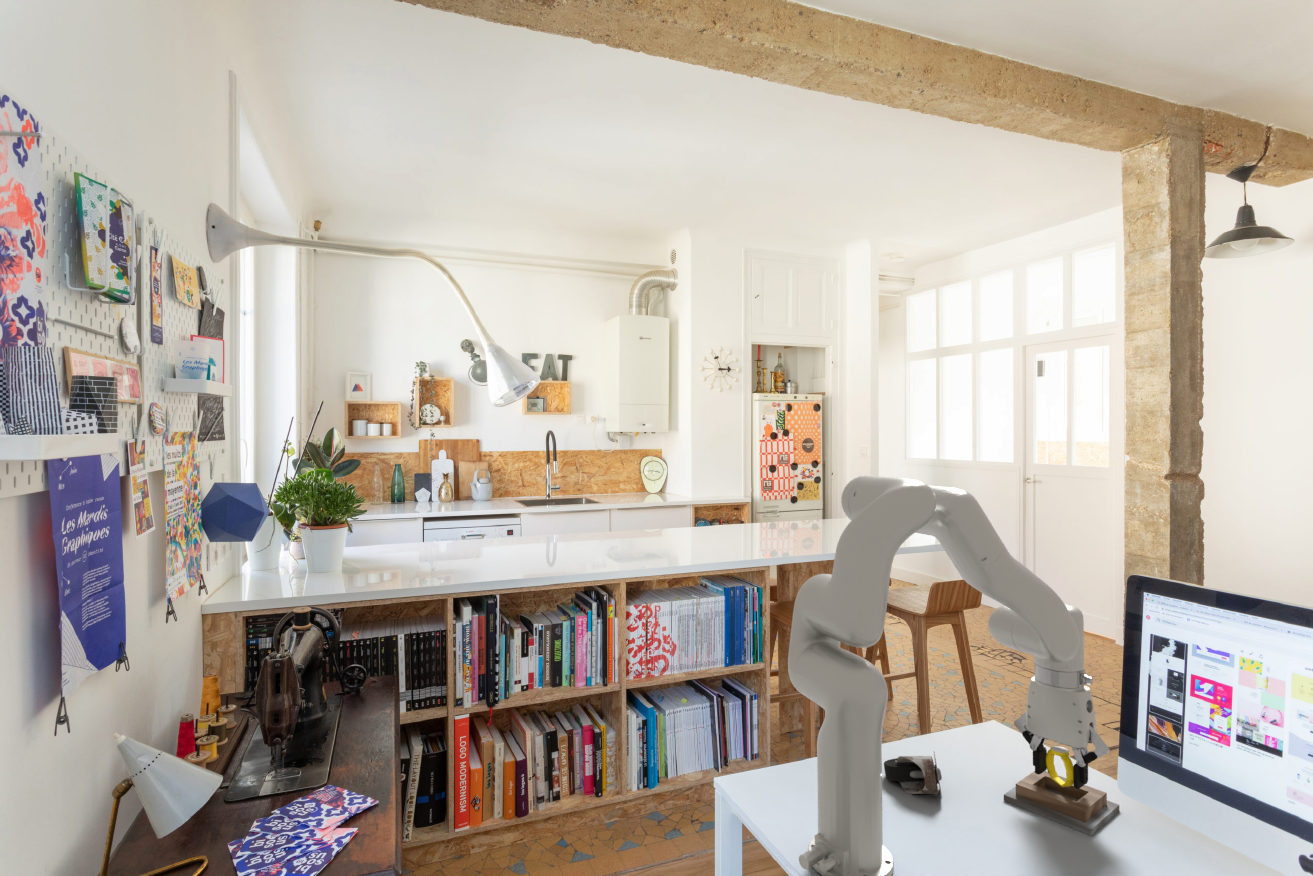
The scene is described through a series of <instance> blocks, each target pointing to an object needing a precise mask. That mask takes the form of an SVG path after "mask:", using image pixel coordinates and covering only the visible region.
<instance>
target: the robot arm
mask: <svg viewBox="0 0 1313 876" xmlns="http://www.w3.org/2000/svg"><path fill="white" fill-rule="evenodd" d="M840 501H841V507H842V511H843V512H844V514H845V516H846V517H847V518H848V519H849V520H850V521H849V522H848V524H847V525H846V527H845V528H844V530H842V532H841V534H840V536H839V538H838V539H839V540H838V541H837V545H836V547H835V548H836V549H835V553H834V554H835V555H834V559H833V565H832V572H831V574H830V573H820V574H815V575H813V576H811V577H809V578H808V579H807V580H806V581H805V582H804V583H802V585H801V586H800V588H799V589H798V593H797V594H796V597H795V600H794V604H793V610H792V619H791V626H790V627H791V629H790V637H789V647H788V656H787V671H788V676H789V679H790V682H791V684H792V685H793V687H794V688H795V689H796V690H797V691H798V692H799V693H800V694H802V695H803V696H804V697H805V698H807V699H809V700H810V701H812V702H814V703H815V704H816V705H817V706H819V707H820V708H822V709H823V710H824V718H823V722H822V724H821V726H820V729H819V732H818V734H817V739H816V741H817V742H816V759H817V760H816V761H817V763H816V764H817V766H816V767H817V770H816V771H817V775H816V776H817V779H816V780H817V833H816V834H814V838H813V839H812V840H811V841H810V842H809V844H808V847H807V851H805V852H804V853H802V854H800V855H799V856H798V862H799V865H800V867H801V868H802V869H803V870H806V871H807V870H809V869H810V868H813V869H814V870H815V872H817V873H819V874H820V875H821V876H893V873H894V872H895V871H894V870H895V869H894V868H895V867H894V865H895V864H894V863H895V862H894V857H893V855H892V853H891V852H890V851H889V849H888V848H887V847H886V846H885V845H884V843H883V842H884V841H883V836H884V835H883V768H882V767H883V766H882V765H883V763H882V762H883V761H882V750H883V749H882V747H883V746H882V743H883V742H882V741H883V729H884V721H885V715H886V710H887V705H888V700H889V691H888V690H889V689H888V685H887V681H886V679H885V677H884V675H883V674H882V672H881V671H880V670H879V669H878V668H877V667H876V665H874V664H873V663H871V662H870V661H869V660H867V659H865V658H864V657H862V656H860V655H857V654H855V653H853V652H851V651H849V650H847V649H844V648H843V647H841V643H843V644H845V645H847V646H850V647H855V648H861V649H862V648H863V649H866V648H871V647H872V646H874V645H876V644H877V643H878V642H879V641H880V640H881V638H882V635H883V633H884V630H885V624H886V617H887V616H886V615H887V608H888V607H887V606H888V598H889V589H890V580H891V572H892V567H893V561H894V560H895V559H894V558H895V556H896V554H897V552H898V550H899V549H900V547H901V546H902V545H903V544H904V543H905V542H906V541H907V540H908V539H909V538H910V537H911V536H913V535H914V534H922V535H927V536H930V537H931V536H932V537H934V538H935V539H936V540H937V542H939V544H940V546H941V547H942V548H943V550H944V551H945V553H946V555H947V556H948V557H949V560H950V561H951V562H952V564H953V566H954V568H955V569H956V570H957V572H958V574H959V575H960V577H961V578H962V580H964V582H965V583H967V584H968V585H969V586H971V587H972V588H973V589H975V590H976V591H978V592H980V593H981V594H982V595H984V596H987V597H988V598H989V599H992V600H995V601H996V602H998V603H1000V604H1001V605H1000V606H998V607H997V608H996V609H994V610H993V611H992V613H991V614H990V615H989V618H988V620H987V627H988V631H989V634H990V635H991V637H992V638H993V639H994V641H996V642H997V643H999V644H1000V645H1002V646H1003V647H1007V648H1009V649H1012V650H1014V651H1018V652H1021V653H1025V654H1028V655H1031V656H1033V658H1034V659H1033V660H1034V661H1033V662H1034V663H1033V664H1034V666H1033V667H1034V675H1033V676H1032V677H1030V681H1029V686H1028V690H1027V696H1026V706H1025V713H1023V714H1022V715H1021V716H1018V718H1017V719H1016V720H1014V721H1013V725H1014V726H1015V728H1016V729H1017V730H1018V731H1019V732H1020V733H1021V734H1022V737H1023V738H1024V739H1025V741H1026V742H1027V743H1028V745H1029V748H1030V750H1032V766H1034V771H1035V773H1036V774H1038V775H1039V774H1041V773H1043V772H1044V771H1047V767H1046V754H1047V752H1048V750H1047V748H1046V746H1045V745H1044V744H1045V741H1046V740H1049V741H1051V742H1054V743H1058V744H1060V745H1064V746H1066V747H1069V748H1071V750H1072V752H1073V756H1074V758H1075V764H1073V769H1074V787H1075V788H1077V789H1080V788H1081V787H1082V786H1084V785H1086V784H1088V782H1089V764H1090V763H1092V762H1094V761H1096V760H1097V759H1100V758H1102V757H1104V756H1106V755H1107V754H1109V753H1110V752H1111V750H1110V748H1109V746H1108V745H1107V744H1106V743H1105V741H1104V740H1103V739H1102V738H1101V736H1100V735H1099V734H1098V732H1097V722H1096V714H1095V707H1094V702H1093V701H1094V700H1093V696H1092V692H1091V688H1090V687H1089V686H1087V685H1090V686H1092V685H1093V684H1094V678H1093V676H1089V675H1088V674H1087V673H1086V669H1085V634H1084V631H1085V630H1084V629H1085V627H1084V626H1085V625H1084V620H1085V619H1084V614H1083V612H1082V610H1080V608H1078V607H1077V606H1075V605H1071V604H1067V603H1064V600H1062V598H1061V597H1060V596H1059V594H1058V593H1057V592H1056V591H1054V590H1053V588H1052V587H1051V586H1049V585H1048V584H1047V583H1046V582H1045V581H1043V580H1042V578H1040V577H1039V576H1038V575H1036V574H1035V573H1033V571H1031V570H1030V569H1029V568H1028V567H1026V566H1025V565H1024V564H1023V563H1022V562H1020V561H1018V560H1017V559H1016V558H1015V557H1014V556H1012V555H1011V553H1010V551H1008V548H1007V547H1006V545H1005V543H1004V542H1003V541H1002V539H1001V538H1000V536H999V534H998V532H997V531H996V529H995V528H994V526H993V525H992V523H991V520H989V518H988V515H987V514H986V513H985V511H984V509H983V508H982V506H981V505H980V503H979V501H978V499H976V497H975V496H973V494H971V493H970V492H968V491H966V490H964V489H962V488H957V487H951V486H938V485H937V486H936V485H928V484H927V483H924V482H923V481H920V480H917V479H912V478H905V477H898V476H896V477H895V476H878V475H877V476H876V475H862V476H861V475H860V476H857V477H855V478H853V479H852V480H850V481H849V482H848V483H847V484H846V485H845V487H844V488H843V491H842V494H841V500H840ZM1088 744H1092V745H1093V746H1094V748H1095V749H1093V750H1091V751H1089V750H1088Z"/></svg>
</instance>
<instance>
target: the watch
mask: <svg viewBox="0 0 1313 876" xmlns="http://www.w3.org/2000/svg"><path fill="white" fill-rule="evenodd" d="M1069 755H1070V751H1069V749H1067V748H1066V747H1063V746H1056V745H1054V746H1051V747H1050V749H1048V750H1047V754H1046V767H1047V770H1046V771H1047V772H1048V773H1049V775H1050V777H1051V779H1052V780H1054V781H1055V782H1056V783H1058V784H1059V785H1060V786H1061V787H1070V786H1072V785H1073V783H1074V769H1073V767H1074V764H1073V761H1072V760H1071V757H1070V756H1069ZM1055 756H1057V757H1060V758H1061V761H1062V762H1063V764H1064V768H1065V773H1066V777H1065V778H1066V781H1065V782H1064V781H1063V780H1062V779H1060V778H1059V777H1058V776H1059V774H1058V773H1057V770H1056V767H1055V763H1054V762H1055Z"/></svg>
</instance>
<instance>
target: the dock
mask: <svg viewBox="0 0 1313 876" xmlns="http://www.w3.org/2000/svg"><path fill="white" fill-rule="evenodd" d="M1058 777H1059V778H1060V779H1062V780H1063V781H1064V782H1065V781H1066V778H1067V777H1064V776H1061V775H1058ZM1107 794H1108V793H1107V792H1106V791H1103V790H1100V789H1097V788H1095V787H1091V786H1089V785H1086V784H1085V785H1084V786H1082V787H1081V788H1080V789H1077V788H1075V787H1074V783H1073V785H1072V786H1070V787H1061V786H1060V785H1059V784H1058V783H1056V782H1055V781H1054V780H1052V779H1051V777H1050V775H1049V773H1048V771H1047V770H1046V771H1044V772H1043V773H1041V774H1039V775H1038V774H1036V773H1035V770H1034V771H1033V772H1031V773H1030V774H1028V775H1027V776H1025V777H1024V778H1022V779H1021V780H1019V781H1018V782H1016V783H1015V787H1013V788H1011V789H1009V790H1008V791H1007V792H1004V794H1003V801H1004V802H1007V803H1009V804H1011V805H1014V806H1017V807H1020V808H1022V809H1024V810H1027V811H1030V812H1031V813H1034V814H1036V815H1039V816H1041V817H1043V818H1046V819H1049V820H1051V821H1052V822H1053V821H1054V822H1056V823H1059V824H1061V825H1063V826H1066V827H1068V828H1071V829H1073V830H1075V831H1078V832H1081V833H1083V834H1086V835H1088V836H1089V837H1091V836H1093V835H1094V834H1096V832H1097V831H1098V830H1099V829H1101V828H1102V827H1103V826H1104V825H1105V824H1107V823H1108V821H1109V820H1111V819H1112V818H1113V817H1114V816H1115V815H1116V814H1117V813H1118V812H1120V804H1117V803H1115V802H1113V801H1110V800H1107V799H1108V796H1107Z"/></svg>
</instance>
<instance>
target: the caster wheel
mask: <svg viewBox="0 0 1313 876" xmlns="http://www.w3.org/2000/svg"><path fill="white" fill-rule="evenodd" d="M935 753H936V752H935V751H933V757H934V758H933V757H932V755H902V756H898V757H897V758H892V759H888V760H885V761H884V762H883V768H884V769H883V770H884V774H885V778H886V779H887V780H889V781H894V782H899V783H900V786H901V787H902V790H904V791H905V792H906V793H908V794H911V795H913V794H914V795H916V794H917V795H924V794H925V795H927V794H928V795H935V794H936V795H938V793H939V792H940V798H941V800H943V796H942V788H941V783H940V781H942V778H943V777H942V771H941V769H940V767H938V765H937V760H936V759H937V758H936V754H935ZM938 786H939V787H938ZM938 788H939V789H938Z"/></svg>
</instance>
